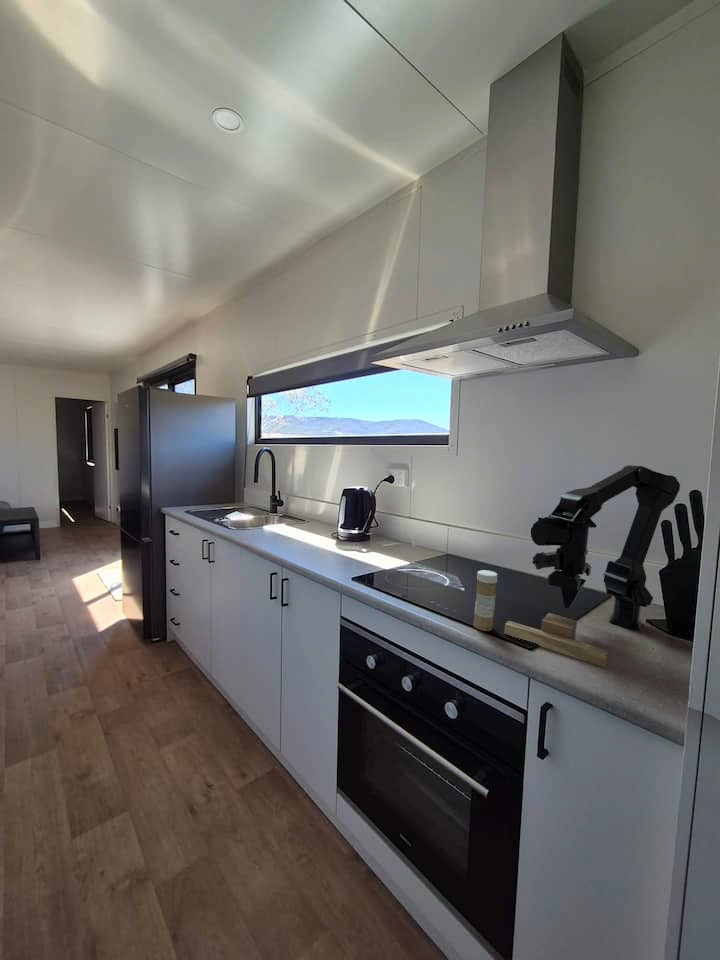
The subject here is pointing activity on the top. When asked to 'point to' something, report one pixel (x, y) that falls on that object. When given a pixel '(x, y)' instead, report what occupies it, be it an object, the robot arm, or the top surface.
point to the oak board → (557, 643)
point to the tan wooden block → (559, 626)
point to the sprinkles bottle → (485, 600)
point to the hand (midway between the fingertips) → (567, 607)
